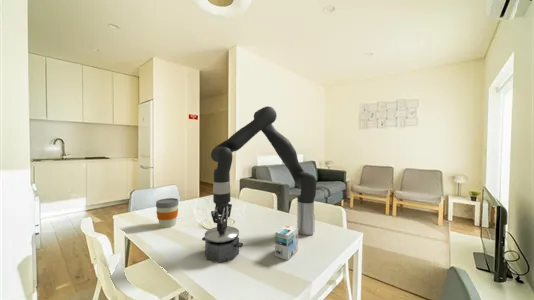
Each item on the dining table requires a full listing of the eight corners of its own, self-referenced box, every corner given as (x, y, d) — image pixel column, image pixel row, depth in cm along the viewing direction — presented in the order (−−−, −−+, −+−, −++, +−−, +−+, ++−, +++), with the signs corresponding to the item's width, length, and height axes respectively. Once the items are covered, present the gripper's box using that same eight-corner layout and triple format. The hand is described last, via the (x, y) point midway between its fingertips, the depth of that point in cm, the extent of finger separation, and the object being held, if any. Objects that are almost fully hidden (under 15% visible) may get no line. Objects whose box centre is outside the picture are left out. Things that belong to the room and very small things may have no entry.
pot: (249, 250, 103) (249, 235, 103) (234, 266, 90) (233, 249, 90) (212, 243, 110) (212, 229, 110) (193, 257, 97) (193, 241, 97)
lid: (244, 233, 105) (244, 215, 105) (229, 247, 91) (229, 227, 90) (215, 229, 110) (215, 212, 109) (197, 242, 95) (197, 223, 95)
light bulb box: (288, 260, 94) (288, 235, 94) (274, 256, 98) (274, 232, 98) (298, 250, 104) (298, 227, 103) (285, 246, 107) (285, 224, 107)
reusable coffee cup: (169, 220, 144) (168, 197, 143) (183, 223, 138) (183, 199, 138) (151, 227, 132) (150, 201, 132) (166, 230, 127) (165, 204, 126)
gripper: (220, 195, 91) (220, 237, 92) (237, 189, 105) (237, 225, 105) (205, 194, 94) (205, 234, 95) (223, 187, 107) (223, 223, 108)
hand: (222, 229), depth 100 cm, fingers closed on lid, 3 cm apart
